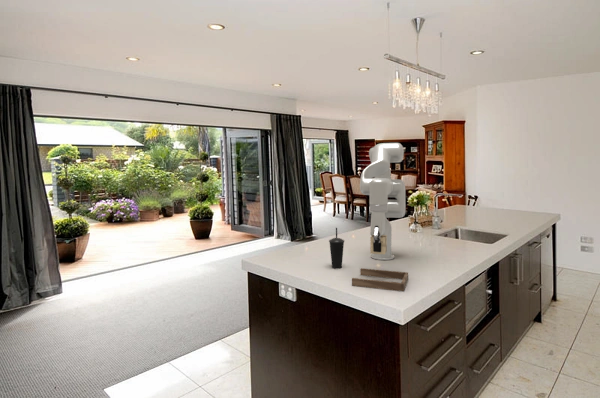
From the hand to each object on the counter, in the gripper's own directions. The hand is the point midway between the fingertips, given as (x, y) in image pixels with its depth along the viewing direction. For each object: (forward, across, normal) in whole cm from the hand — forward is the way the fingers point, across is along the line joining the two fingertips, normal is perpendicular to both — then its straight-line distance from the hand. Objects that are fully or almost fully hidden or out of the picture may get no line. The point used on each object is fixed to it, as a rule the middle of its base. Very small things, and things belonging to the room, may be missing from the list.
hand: (378, 249), depth 156 cm
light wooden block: (+1, 0, 0) cm, 1 cm away
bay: (+14, 0, 0) cm, 14 cm away
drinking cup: (+15, -16, -23) cm, 32 cm away
